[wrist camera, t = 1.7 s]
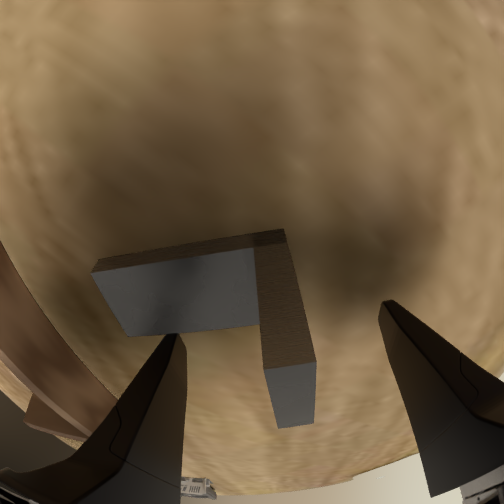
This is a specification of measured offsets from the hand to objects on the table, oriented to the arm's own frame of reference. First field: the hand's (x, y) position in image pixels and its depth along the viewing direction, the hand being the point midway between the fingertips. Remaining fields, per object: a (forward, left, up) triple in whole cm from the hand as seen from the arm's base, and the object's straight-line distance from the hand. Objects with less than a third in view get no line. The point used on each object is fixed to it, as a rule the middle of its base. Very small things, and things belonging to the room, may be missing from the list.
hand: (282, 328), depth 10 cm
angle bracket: (0, +3, -3) cm, 5 cm away
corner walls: (-3, +18, -3) cm, 19 cm away
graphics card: (-49, +22, -4) cm, 54 cm away
